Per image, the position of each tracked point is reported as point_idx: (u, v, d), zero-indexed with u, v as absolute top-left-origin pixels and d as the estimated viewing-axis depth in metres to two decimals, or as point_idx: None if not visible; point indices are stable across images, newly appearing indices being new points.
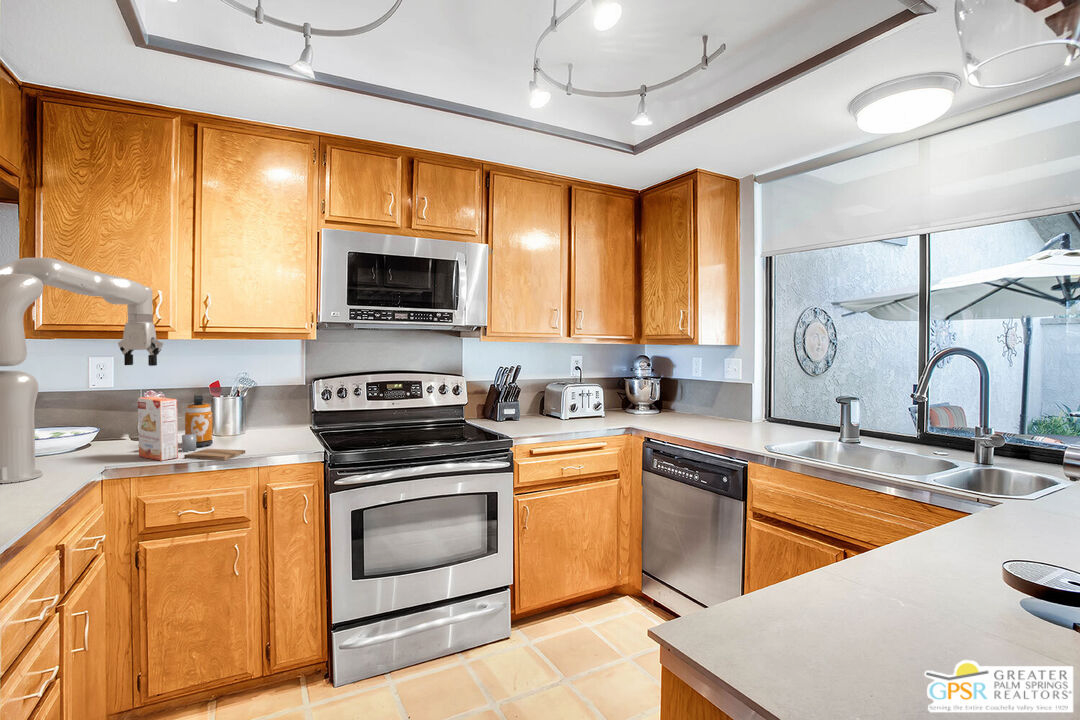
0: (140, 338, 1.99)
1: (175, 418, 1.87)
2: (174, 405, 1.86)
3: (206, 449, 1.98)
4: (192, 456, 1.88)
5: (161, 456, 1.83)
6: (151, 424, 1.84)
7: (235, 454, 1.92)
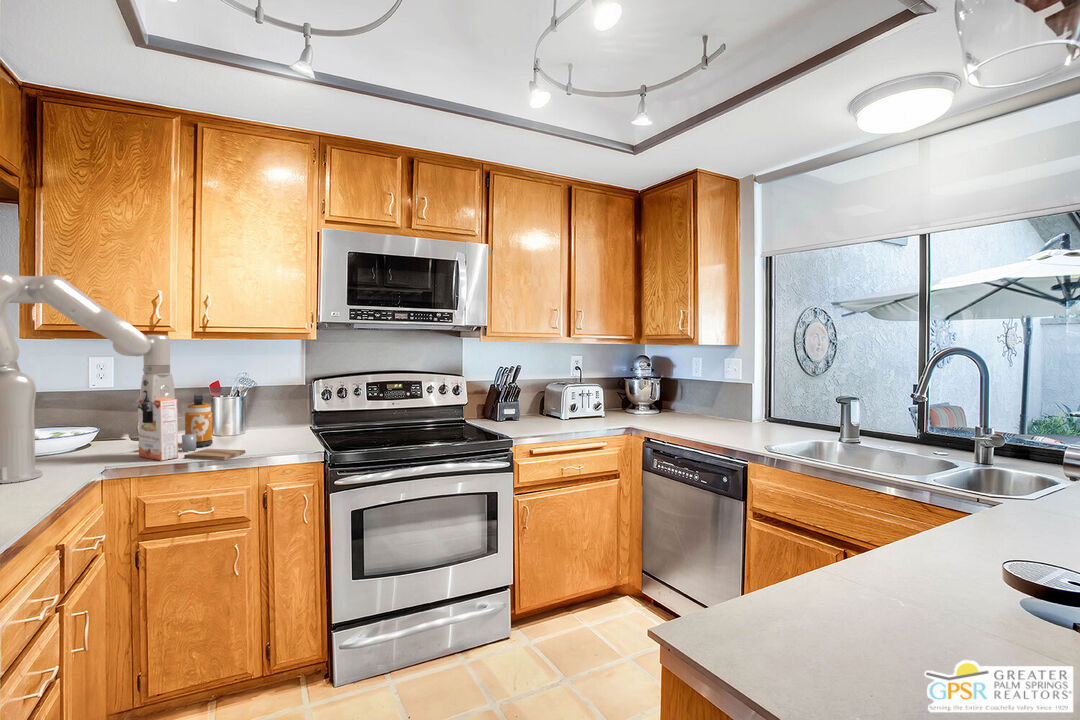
0: (170, 390, 1.90)
1: (175, 418, 1.87)
2: (175, 405, 1.86)
3: (206, 449, 1.98)
4: (192, 456, 1.88)
5: (161, 456, 1.83)
6: (152, 424, 1.84)
7: (235, 454, 1.92)
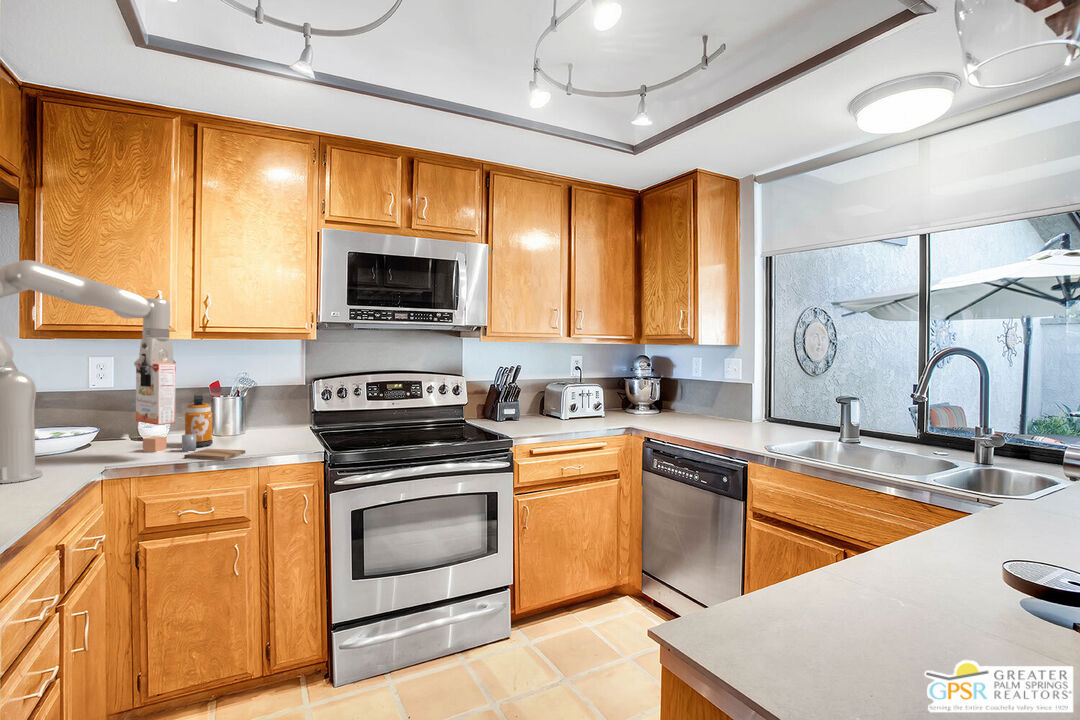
0: (169, 355, 1.89)
1: (173, 383, 1.86)
2: (173, 369, 1.86)
3: (206, 449, 1.98)
4: (192, 456, 1.88)
5: (158, 420, 1.82)
6: (149, 388, 1.83)
7: (235, 454, 1.92)
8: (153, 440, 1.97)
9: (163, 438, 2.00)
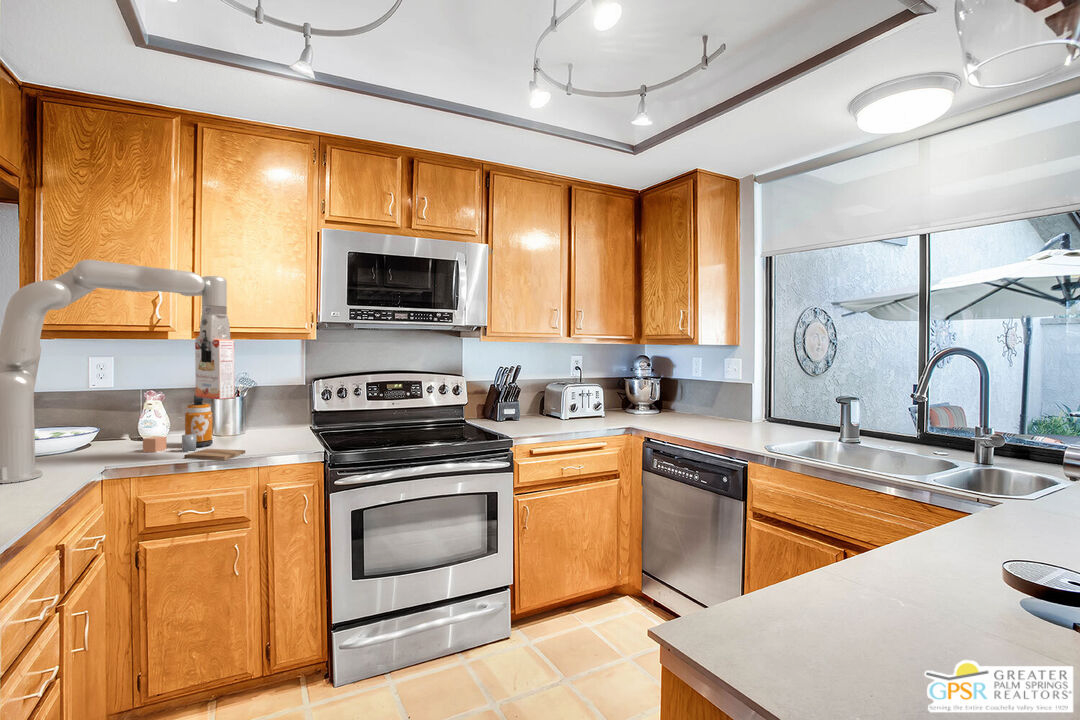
0: (226, 332, 1.93)
1: (232, 358, 1.90)
2: (232, 345, 1.90)
3: (206, 449, 1.98)
4: (192, 456, 1.88)
5: (220, 395, 1.87)
6: (210, 363, 1.88)
7: (235, 454, 1.92)
8: (153, 440, 1.97)
9: (163, 438, 2.00)
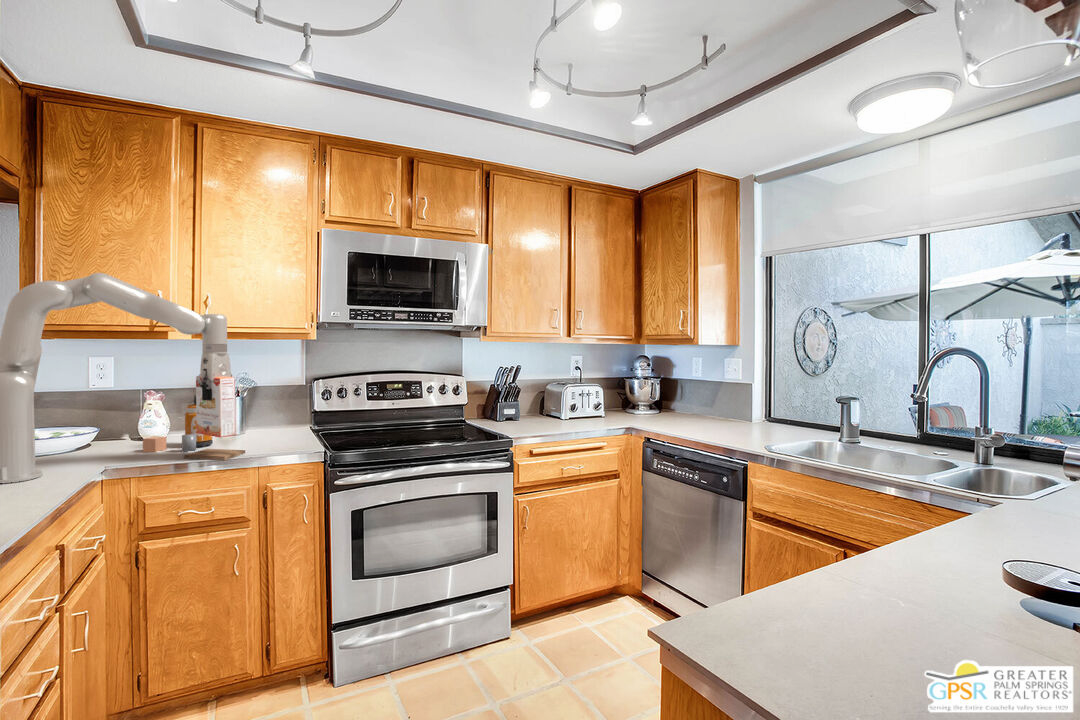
0: (227, 368, 1.94)
1: (233, 396, 1.91)
2: (232, 383, 1.90)
3: (206, 449, 1.98)
4: (192, 456, 1.88)
5: (221, 433, 1.87)
6: (211, 401, 1.88)
7: (235, 454, 1.92)
8: (153, 440, 1.97)
9: (163, 438, 2.00)
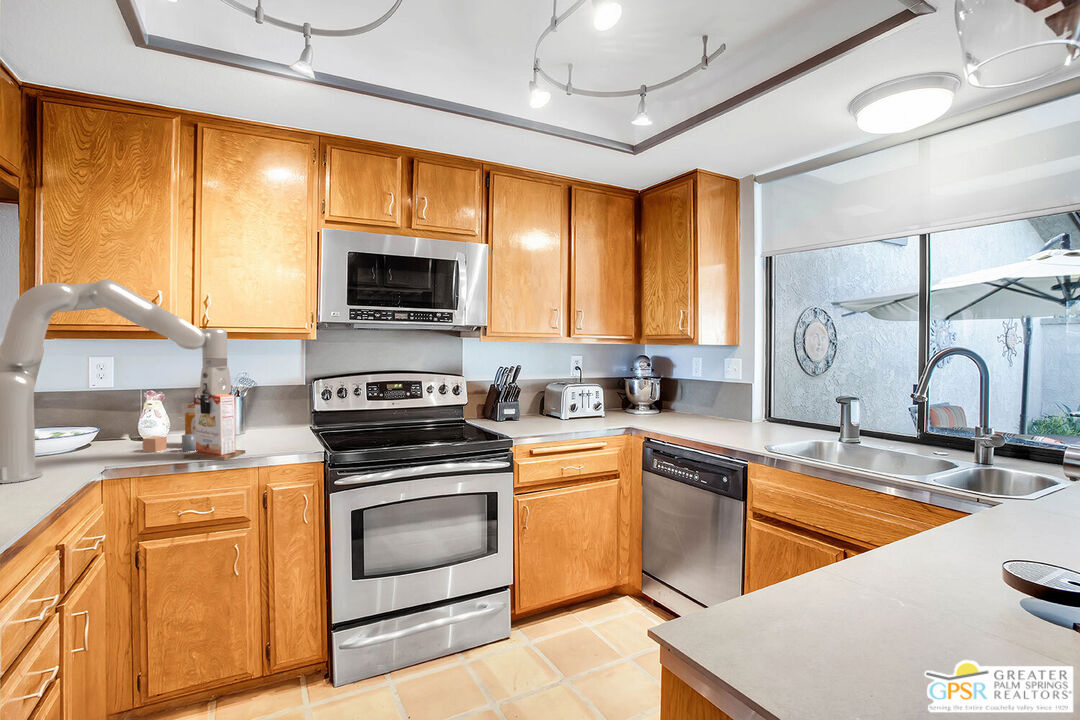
0: (227, 383, 1.94)
1: (233, 413, 1.91)
2: (232, 401, 1.91)
3: None
4: (192, 456, 1.88)
5: (221, 451, 1.88)
6: (210, 419, 1.89)
7: (235, 454, 1.92)
8: (153, 440, 1.97)
9: (163, 438, 2.00)
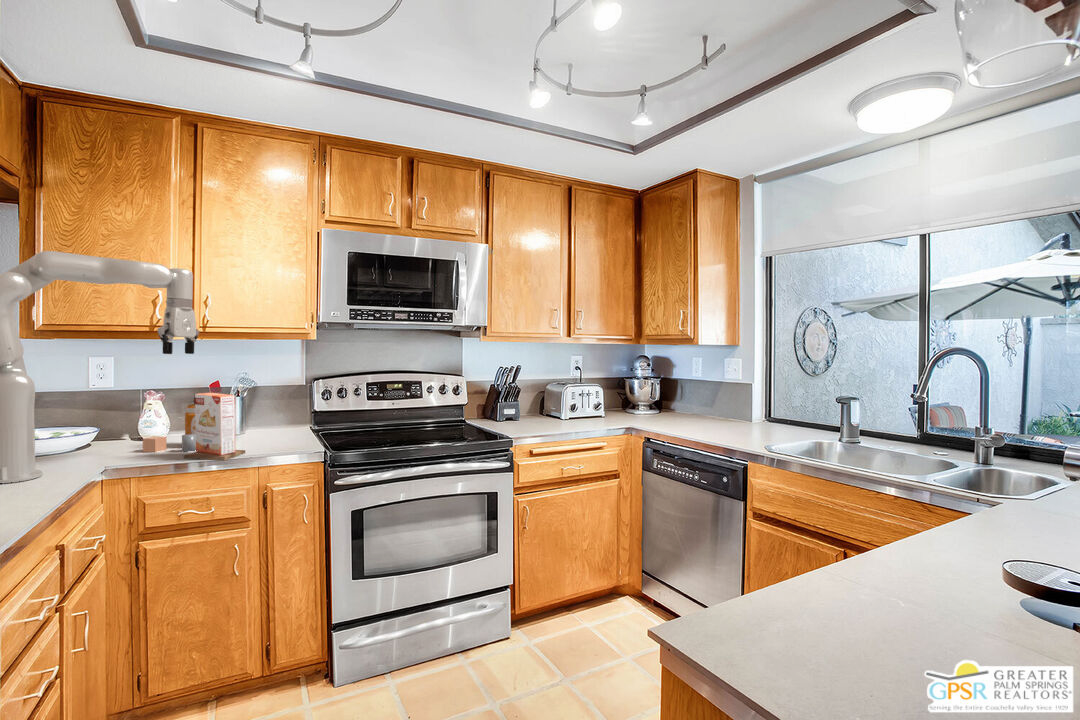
0: (191, 325, 1.91)
1: (233, 413, 1.91)
2: (233, 401, 1.91)
3: None
4: (192, 456, 1.88)
5: (221, 451, 1.88)
6: (211, 419, 1.89)
7: (235, 454, 1.92)
8: (153, 440, 1.97)
9: (163, 438, 2.00)
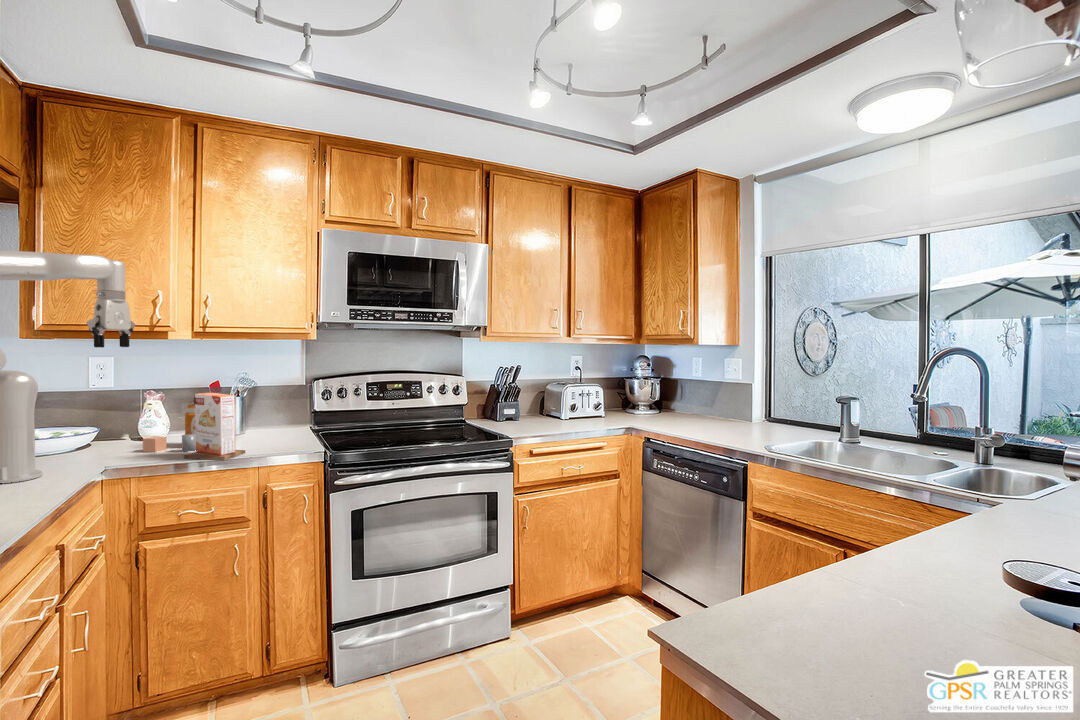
0: (125, 318, 1.86)
1: (233, 413, 1.91)
2: (233, 401, 1.91)
3: None
4: (192, 456, 1.88)
5: (221, 451, 1.88)
6: (211, 419, 1.89)
7: (235, 454, 1.92)
8: (153, 440, 1.97)
9: (163, 438, 2.00)
